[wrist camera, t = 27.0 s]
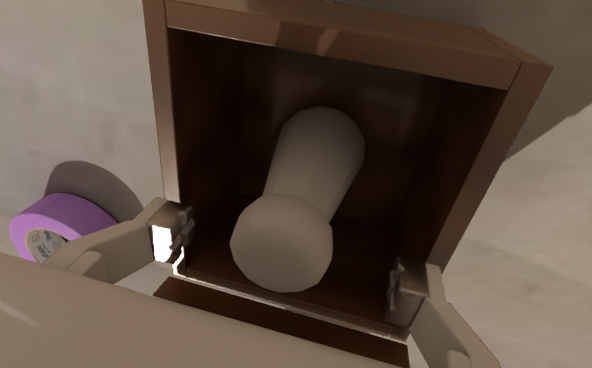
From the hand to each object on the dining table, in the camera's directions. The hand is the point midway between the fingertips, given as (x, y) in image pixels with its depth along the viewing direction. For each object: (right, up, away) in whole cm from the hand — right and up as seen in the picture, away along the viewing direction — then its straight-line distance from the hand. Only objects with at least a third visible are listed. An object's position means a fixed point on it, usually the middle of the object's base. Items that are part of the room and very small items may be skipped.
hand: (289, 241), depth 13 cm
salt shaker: (+2, +6, +11) cm, 13 cm away
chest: (+3, +6, +11) cm, 13 cm away
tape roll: (-24, -3, +25) cm, 35 cm away
